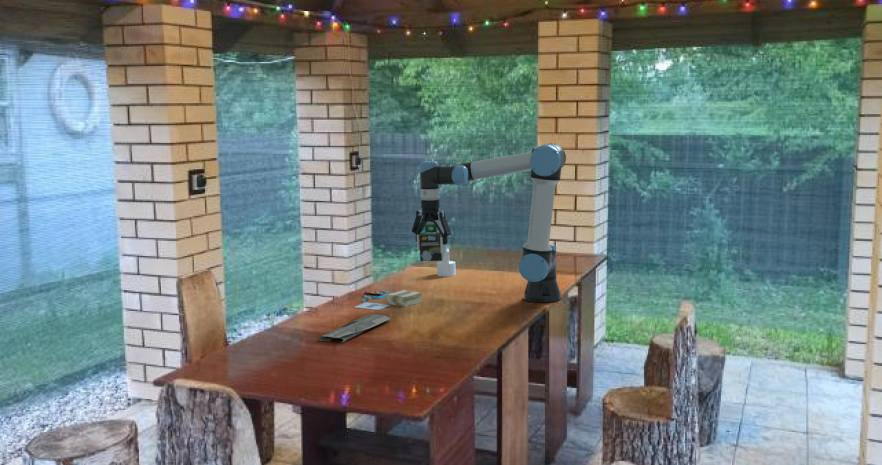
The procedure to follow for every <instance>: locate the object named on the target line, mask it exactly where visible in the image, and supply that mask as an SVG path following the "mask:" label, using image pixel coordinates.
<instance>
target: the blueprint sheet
mask: <svg viewBox="0 0 882 465" xmlns="http://www.w3.org/2000/svg"><path fill="white" fill-rule="evenodd" d="M390 306H391V304H385V303H376V302H375V303H373V302H366V301H365V302H363V303H360V304H358V305H356V306H353V308H355V309H362V310H372V311H379V310H382V309H385V308H387V307H390Z"/></svg>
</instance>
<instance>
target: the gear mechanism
mask: <svg viewBox="0 0 882 465" xmlns="http://www.w3.org/2000/svg"><path fill="white" fill-rule="evenodd" d="M389 293H390V290H385V289H384V290H383V289H381V290H379V285H377V291H371V292H364V293H363V297H362V299H361V302H363V303H365V302H366V301H371V300H372V299H376V300H381V299H383V298H387V294H389Z"/></svg>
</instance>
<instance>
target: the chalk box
mask: <svg viewBox="0 0 882 465" xmlns="http://www.w3.org/2000/svg"><path fill="white" fill-rule="evenodd" d="M424 228H425V229H424V230H422V232H420V234H419V245H420V250H419V256H420V257H419V258H420V262H440V261H443V258H444V253H441V245H440V237H441V236H442V235H441V234H440V232H439V230H438V229H437V227H436V225H435V224H434V223H433V224H432V223H426V225H425V227H424ZM429 228H432V229H429Z"/></svg>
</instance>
